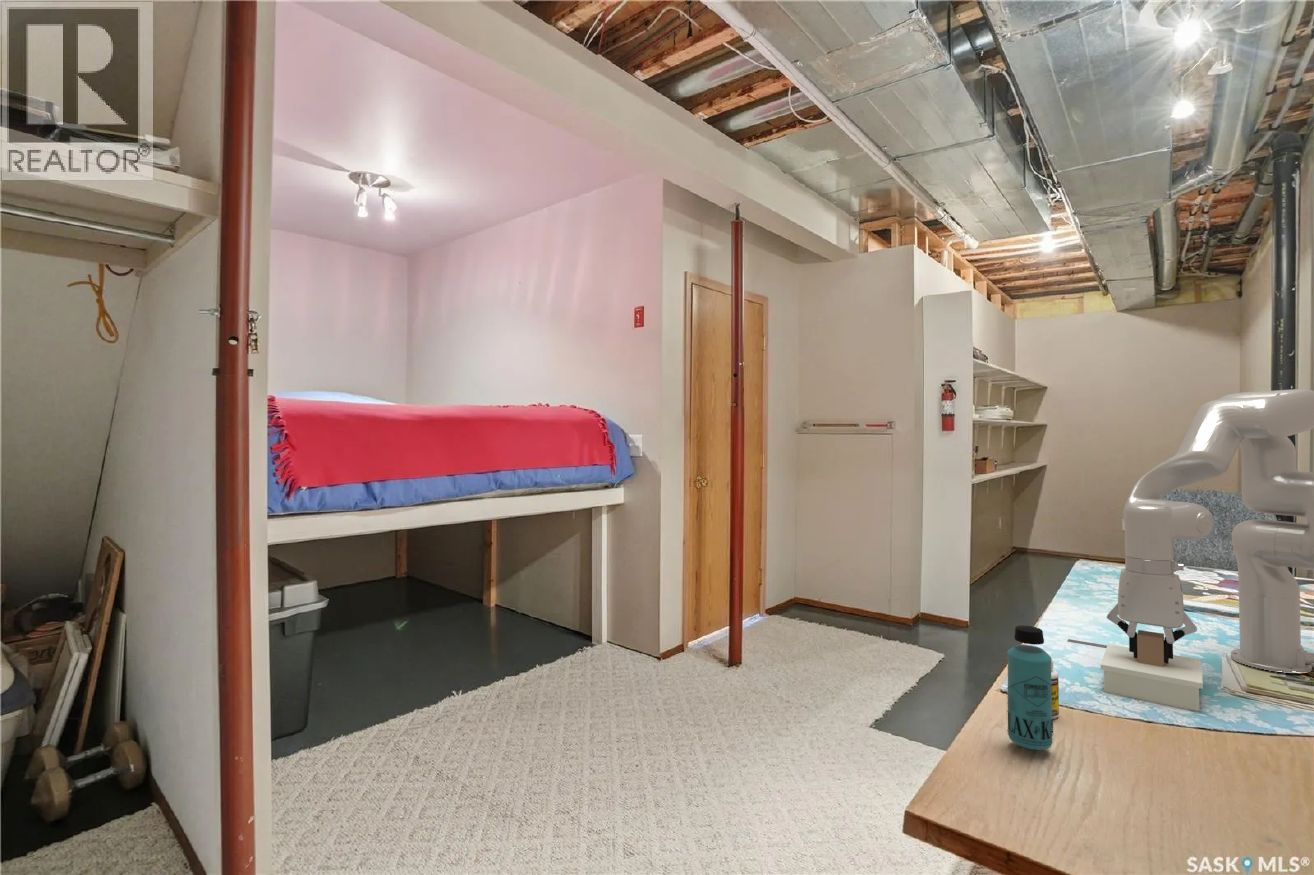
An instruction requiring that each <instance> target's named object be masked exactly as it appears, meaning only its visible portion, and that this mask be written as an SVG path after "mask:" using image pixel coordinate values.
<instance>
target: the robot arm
mask: <svg viewBox="0 0 1314 875" xmlns="http://www.w3.org/2000/svg"><path fill="white" fill-rule="evenodd" d="M1313 429H1314V390H1311V389H1308V388H1298V389H1297V388H1294V389H1279V390H1278V389H1277V390H1276V389H1275V390H1259V391H1245V392H1237V393H1230V394H1226V395H1224V396H1222V397H1220V398H1218V399H1215V400H1214V399H1213V400H1210V401H1208V402H1206V403H1204V404H1202V405H1201V406H1199V408H1198V410H1197V412H1196V414H1195V415H1194V418H1193V420H1192V421H1191V424H1190V426H1189V428H1188V429H1187V431H1186V434H1185V436H1184V438H1183V440H1182V442H1181V443H1180V446H1179V448H1178V450H1177V452H1176V454H1175V455H1174V456H1171V457H1170V458H1168V459H1166V460H1164V461H1163V462H1161V463H1160V464H1158V465H1156V466H1155V467H1153V468H1152V469H1150V470H1149V471H1148V472H1146V473H1145V474H1143V475H1142V476H1141V477H1140V478H1139V479H1138V480H1137V482H1135V484H1134V485H1133V487H1132V489H1131V491H1130V493H1129V496H1128V498H1127V499H1126V502H1125V505H1124V508H1123V511H1122V512H1123V513H1122V520H1123V522H1124V555H1125V556H1124V557H1125V558H1124V560H1125V561H1124V562H1125V563H1124V564H1125V565H1124V566H1125V569H1121V570H1120V573H1119V580H1118V589H1117V590H1118V592H1117V604H1116V605H1114V607H1112V609H1111V610H1110V611H1109V612H1108V614H1107V616H1106V619H1107V620H1109V621H1110V622H1112V623H1113V624H1115V625H1116V626H1118V627H1119V628H1120V629H1121V630H1122V631H1123V632H1124V633H1125V634H1126V635H1127V637H1128V648H1129V652H1133V654H1134V658H1138V655H1137V633H1138V631H1136V630H1137V626H1138V624H1142V625H1147V626H1148V625H1149V626H1154V627H1162V628H1163V632H1164V633H1163V634H1164V662H1165V663H1166V664H1168V662H1169V658H1170V659H1173V655H1174V643H1175V642H1177V641H1178V640H1180V639H1182V638H1183V637H1184V636H1188V635H1190V634H1193V633H1196V632H1197V631H1198V627H1197V625H1195V623H1194V622H1193V620H1192V619H1191V618H1190V616H1188V614H1187V613H1186V611H1185V607H1184V606H1185V605H1184V594H1183V587H1182V581H1181V579H1180V575H1179V574H1177V573H1175V572H1178V571H1182V572H1183V571H1185V569H1184V568H1185V567H1184V563H1180V562H1176V560H1174V559H1175V558H1174V557H1175V556H1174V554H1175V551H1174V549H1175V548H1174V540H1182V541H1183V540H1184V541H1198V540H1202V539H1204V538H1205V537H1207V536H1208V535H1209V534H1210V533H1211V532H1212V531H1213V527H1214V525H1215V524H1214V523H1215V521H1214V517H1213V514H1212V513H1211V512H1210V510H1209V509H1208V508H1206V507H1205V506H1203V505H1201V504H1199V503H1195V502H1189V501H1174V500H1167V499H1162V498H1164V497H1165V496H1167V495H1168V494H1169V493H1171V492H1172V491H1175V490H1177V489H1179V488H1182V487H1185V486H1188V485H1193V484H1197V483H1200V482H1204V481H1207V480H1211V479H1214V478H1217V477H1219V476H1222V475H1223V474H1225V473H1226V472H1227V470H1228V469H1229V468H1230V465H1231V463H1232V460H1233V458H1234V456H1235V454H1236V453H1237V451H1238V448H1240V450H1241V451H1240V452H1241V499H1242V503H1243V505H1244V506H1245V508H1247V509H1248V510H1249V511H1253V512H1255V513H1261V514H1269V515H1279V516H1288V517H1289V516H1291V517H1299V518H1300V517H1302V518H1306V520H1307V523H1302V522H1293V521H1292V522H1291V521H1284V520H1282V521H1281V520H1272V519H1262V518H1261V519H1259V518H1258V519H1257V518H1256V519H1255V518H1254V519H1247V520H1244V521H1241V522H1239V523H1238V524H1236V525H1234V528H1233V529H1232V532H1231V535H1230V536H1231V545H1232V548H1233V552H1234V556H1235V559H1236V566H1237V576H1238V614H1239V615H1238V617H1239V618H1238V620H1239V621H1238V622H1239V623H1238V624H1239V649H1234V650H1232V651H1230V658H1231V659H1232V660H1233V661H1235V662H1236V663H1238V662H1239V664H1241V663H1242V664H1241V665H1243V664H1245V665H1244V666H1246V665H1248V666H1247V667H1249V666H1251V667H1250V668H1253V667H1257V668H1261V669H1264V670H1263V671H1265V670H1269V671H1268V672H1271V671H1282V672H1292V671H1296V672H1310V673H1312V672H1313V666H1312V664H1314V652H1308V651H1307V650H1304V647H1303V646H1302V643H1301V642H1302V638H1301V637H1302V636H1301V632H1302V631H1301V590H1300V589H1301V588H1300V586H1299V583H1298V581H1297V579H1296V578H1295V576H1294V575H1293V574H1292V573H1291V572H1290V570H1289V569H1288V567H1289V568H1295V569H1302V570H1310V571H1314V471H1298V469H1297V450H1296V446H1295V445H1294V443H1293V441H1292V440H1291V439H1290V438H1289V437H1291V436H1294V435H1297V434H1300V433H1304V432H1308V431H1311V430H1313ZM1127 622H1128V623H1127ZM1174 629H1175V630H1174ZM1257 668H1256V669H1257ZM1261 669H1260V670H1261ZM1311 671H1312V672H1311Z"/></svg>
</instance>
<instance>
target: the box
mask: <svg viewBox="0 0 1314 875" xmlns="http://www.w3.org/2000/svg"><path fill="white" fill-rule="evenodd" d="M1103 685H1104V686H1103V688H1104V690H1103V692H1104V693H1108V694H1113V695H1118V696H1122V697H1127V698H1131V699H1135V700H1136V699H1137V700H1141V701H1144V702H1145V701H1147V702H1150V703H1155V704H1160V705H1165V706H1168V707H1169V706H1170V707H1176V708H1180V709H1184V710H1189V711H1193V712H1199V713H1200V688H1195V687H1190V686H1185V685H1180V684H1174V683H1169V682H1164V681H1159V680H1153V679H1148V678H1143V677H1138V676H1132V675H1127V674H1122V673H1117V672H1111V671H1106V670H1103Z"/></svg>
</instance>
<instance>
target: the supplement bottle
mask: <svg viewBox="0 0 1314 875" xmlns="http://www.w3.org/2000/svg"><path fill="white" fill-rule="evenodd" d="M1054 666H1055V665H1054V660H1053V659H1052V662H1051V685H1052V720H1055V719H1057V718H1058V716H1060V701H1059V699H1060V693H1059V692H1060V691H1059V690H1060V689H1059V688H1060V687H1059V685H1060V684H1059V682H1060V681H1059V672H1058V671H1057V670H1056V669H1055V668H1054Z"/></svg>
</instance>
